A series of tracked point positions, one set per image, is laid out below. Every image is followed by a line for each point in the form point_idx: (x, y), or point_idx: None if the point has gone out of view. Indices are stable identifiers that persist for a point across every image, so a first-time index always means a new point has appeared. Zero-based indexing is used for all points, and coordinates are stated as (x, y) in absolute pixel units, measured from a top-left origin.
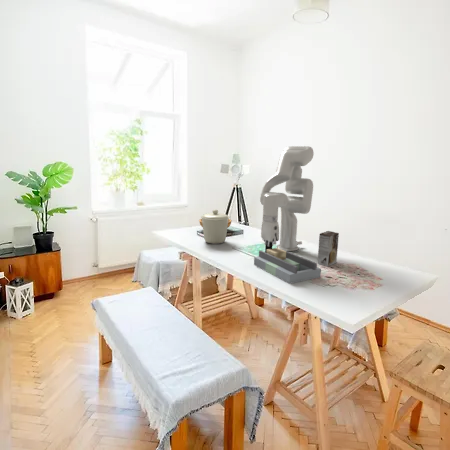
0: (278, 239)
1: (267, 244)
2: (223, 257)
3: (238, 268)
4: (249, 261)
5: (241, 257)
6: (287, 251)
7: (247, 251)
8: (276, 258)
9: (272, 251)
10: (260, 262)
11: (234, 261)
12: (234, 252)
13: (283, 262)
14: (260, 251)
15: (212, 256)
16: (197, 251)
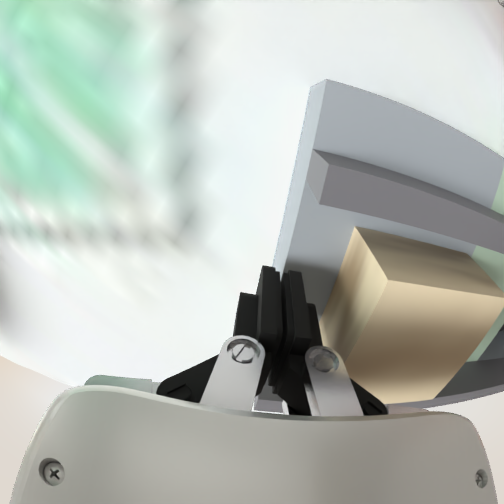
0: (474, 442)
1: (256, 394)
2: (79, 361)
3: (252, 411)
4: (181, 329)
5: (92, 309)
6: (495, 221)
7: (3, 194)
8: (455, 402)
9: (401, 397)
10: None
11: (149, 373)
12: (12, 272)
13: (491, 391)
14: (276, 410)
15: (62, 374)
16: (11, 359)
